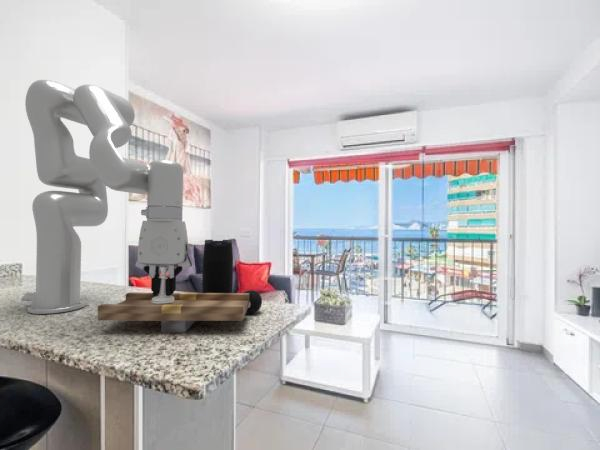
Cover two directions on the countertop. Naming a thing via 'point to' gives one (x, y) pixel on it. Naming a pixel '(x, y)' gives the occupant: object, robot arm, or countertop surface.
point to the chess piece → (163, 288)
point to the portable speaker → (217, 267)
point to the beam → (178, 309)
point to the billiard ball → (254, 301)
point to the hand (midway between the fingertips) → (163, 293)
